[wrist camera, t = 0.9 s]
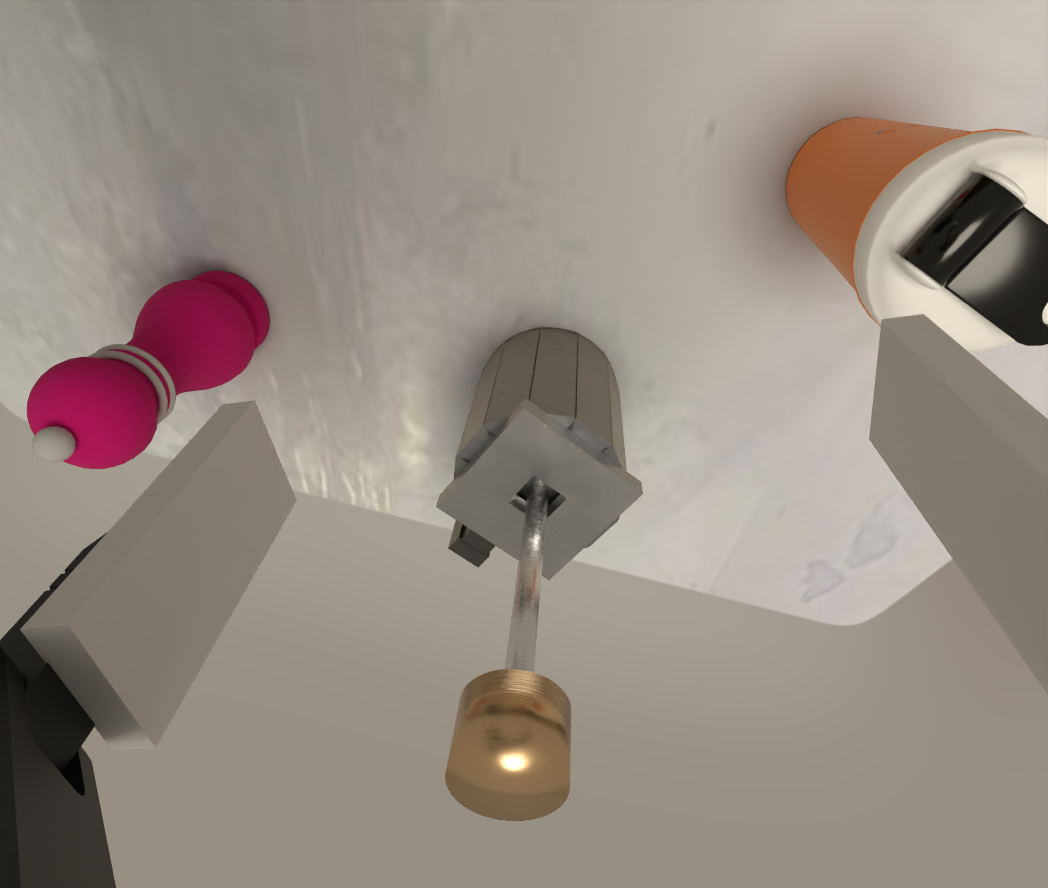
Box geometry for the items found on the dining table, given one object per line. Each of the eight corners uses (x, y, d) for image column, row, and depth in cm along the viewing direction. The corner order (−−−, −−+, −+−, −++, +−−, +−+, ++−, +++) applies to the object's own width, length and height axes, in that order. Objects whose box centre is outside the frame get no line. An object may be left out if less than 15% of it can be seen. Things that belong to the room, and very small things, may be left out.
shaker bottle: (859, 274, 45) (1026, 417, 28) (741, 216, 44) (840, 329, 27) (955, 139, 41) (1220, 212, 24) (826, 71, 40) (1009, 96, 23)
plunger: (457, 481, 42) (368, 785, 25) (529, 400, 39) (484, 684, 22) (549, 542, 44) (525, 864, 27) (625, 469, 41) (653, 782, 24)
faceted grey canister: (434, 425, 54) (390, 538, 42) (537, 300, 48) (521, 388, 36) (535, 494, 56) (521, 620, 44) (644, 383, 51) (663, 492, 38)
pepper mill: (243, 376, 53) (78, 538, 36) (161, 311, 51) (-58, 451, 34) (296, 312, 50) (143, 456, 33) (210, 241, 48) (-2, 355, 31)
